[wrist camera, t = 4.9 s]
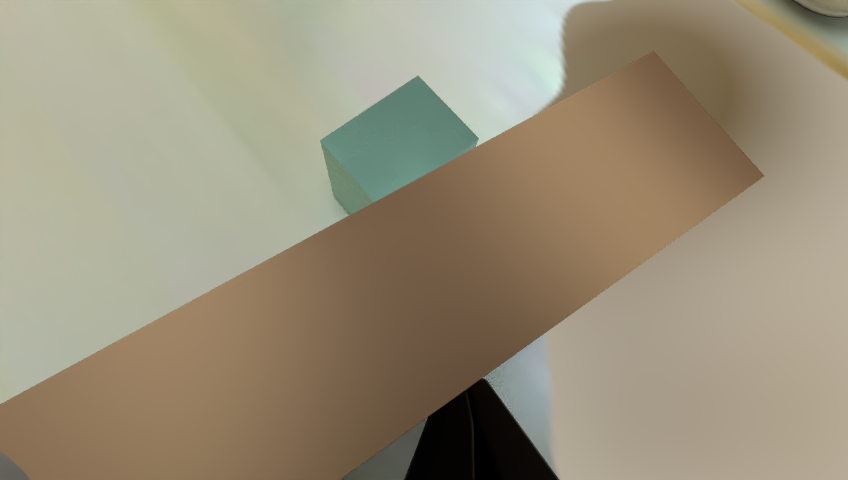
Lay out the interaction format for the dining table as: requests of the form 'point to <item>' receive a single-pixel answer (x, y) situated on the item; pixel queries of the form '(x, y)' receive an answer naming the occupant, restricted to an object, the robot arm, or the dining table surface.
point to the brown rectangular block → (389, 301)
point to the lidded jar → (826, 7)
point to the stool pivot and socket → (393, 145)
